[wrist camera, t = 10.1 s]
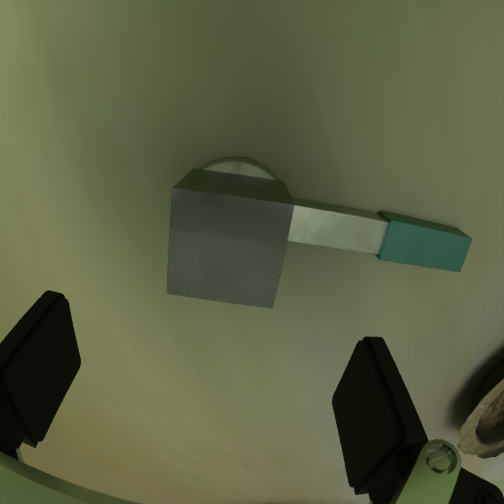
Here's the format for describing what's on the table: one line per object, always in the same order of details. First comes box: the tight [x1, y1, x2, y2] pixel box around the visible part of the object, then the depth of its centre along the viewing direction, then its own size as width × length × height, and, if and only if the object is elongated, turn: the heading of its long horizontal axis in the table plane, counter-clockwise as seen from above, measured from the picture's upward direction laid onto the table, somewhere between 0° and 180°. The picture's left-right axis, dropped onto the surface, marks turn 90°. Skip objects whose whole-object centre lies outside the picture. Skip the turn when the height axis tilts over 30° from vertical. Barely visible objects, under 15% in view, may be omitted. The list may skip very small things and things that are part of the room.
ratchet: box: [202, 157, 472, 272], centre depth 23 cm, size 8×25×7 cm, turn 81°
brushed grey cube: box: [167, 169, 295, 308], centre depth 20 cm, size 6×6×6 cm
